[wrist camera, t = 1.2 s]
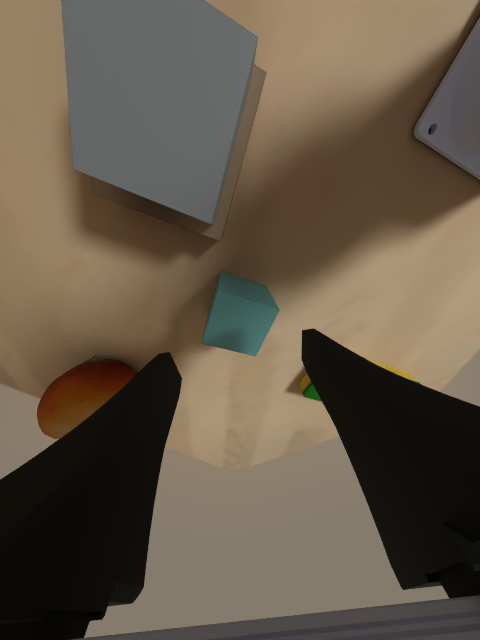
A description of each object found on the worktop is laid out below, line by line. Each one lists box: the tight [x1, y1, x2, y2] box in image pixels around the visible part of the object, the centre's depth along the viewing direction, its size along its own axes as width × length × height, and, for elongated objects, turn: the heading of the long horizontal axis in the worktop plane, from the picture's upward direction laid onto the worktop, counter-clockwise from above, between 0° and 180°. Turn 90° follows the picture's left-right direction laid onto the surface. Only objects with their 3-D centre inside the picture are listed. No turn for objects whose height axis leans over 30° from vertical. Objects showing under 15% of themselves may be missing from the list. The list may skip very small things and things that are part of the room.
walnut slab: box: [91, 65, 266, 241], centre depth 11 cm, size 8×8×3 cm
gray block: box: [61, 0, 258, 224], centre depth 8 cm, size 6×6×2 cm
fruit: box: [37, 356, 136, 439], centre depth 19 cm, size 8×8×8 cm
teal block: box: [202, 271, 279, 356], centre depth 15 cm, size 4×4×5 cm
